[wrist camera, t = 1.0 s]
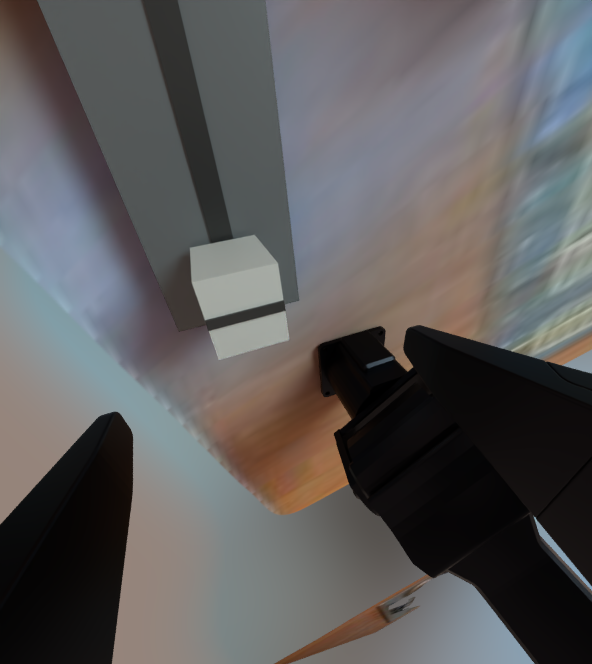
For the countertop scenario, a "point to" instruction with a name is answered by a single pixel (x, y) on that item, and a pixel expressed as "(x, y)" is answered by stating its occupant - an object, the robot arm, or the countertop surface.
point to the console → (183, 126)
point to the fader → (239, 295)
